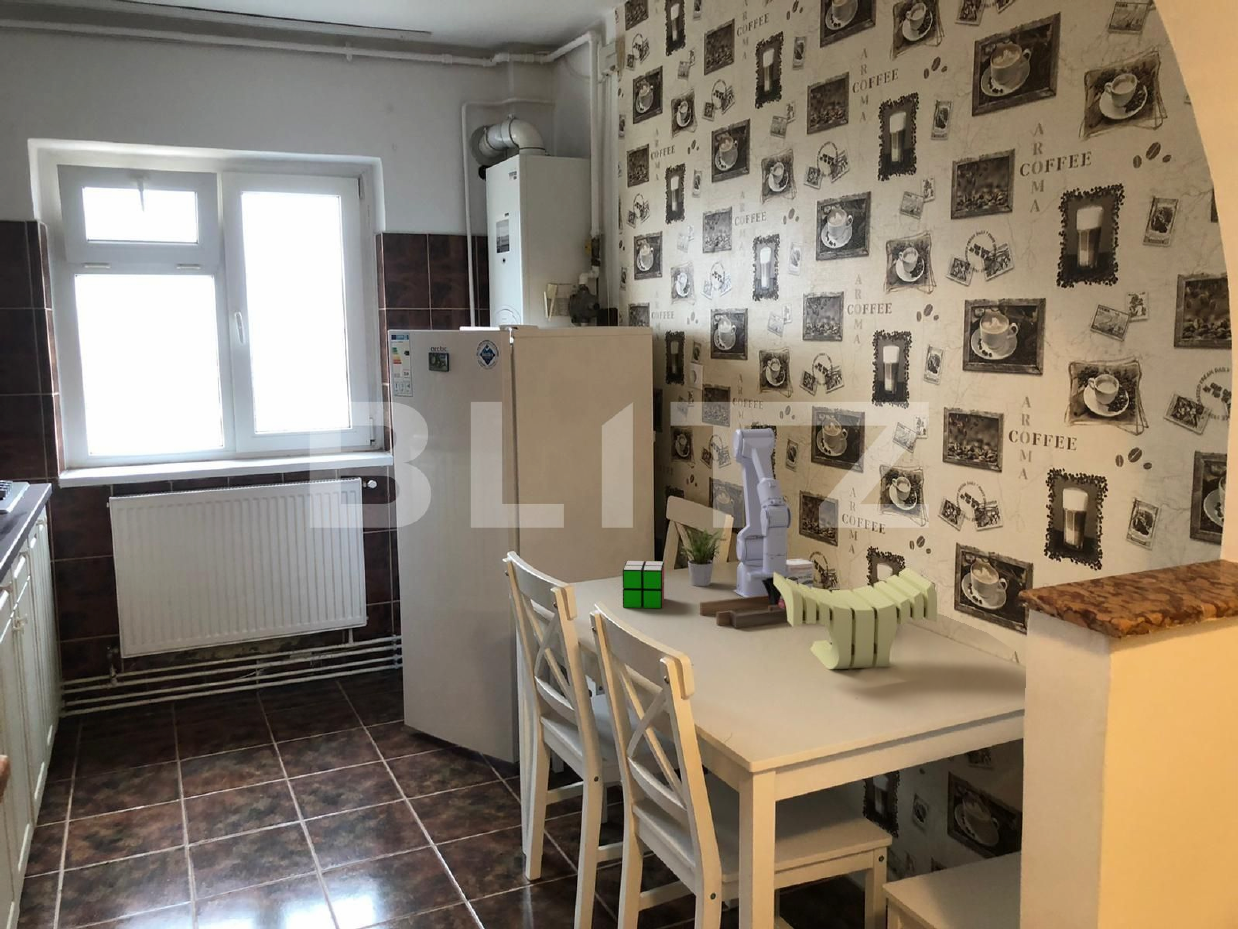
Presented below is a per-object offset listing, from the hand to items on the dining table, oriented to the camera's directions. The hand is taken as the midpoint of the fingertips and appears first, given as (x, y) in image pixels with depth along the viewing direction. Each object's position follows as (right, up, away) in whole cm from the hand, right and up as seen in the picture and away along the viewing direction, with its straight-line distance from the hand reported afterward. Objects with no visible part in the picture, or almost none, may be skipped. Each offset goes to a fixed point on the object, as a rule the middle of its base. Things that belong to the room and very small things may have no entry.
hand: (774, 607), depth 245 cm
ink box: (+5, -1, +4) cm, 6 cm away
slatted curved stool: (+11, -6, -35) cm, 38 cm away
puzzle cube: (-32, -1, +9) cm, 33 cm away
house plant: (-15, +2, +27) cm, 31 cm away
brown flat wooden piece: (-2, -2, -2) cm, 3 cm away
